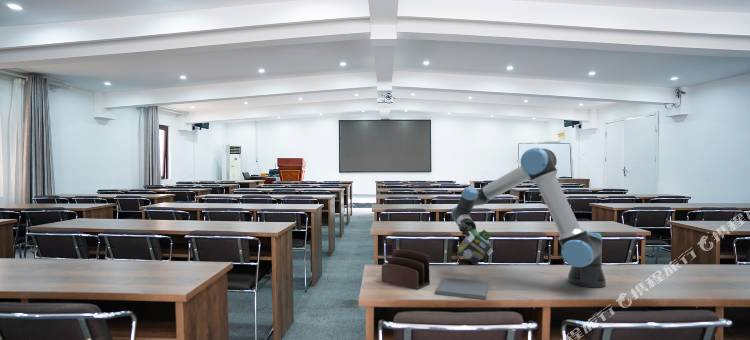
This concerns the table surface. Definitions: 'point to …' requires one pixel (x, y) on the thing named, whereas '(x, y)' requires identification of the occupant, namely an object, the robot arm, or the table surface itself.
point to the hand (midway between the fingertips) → (481, 246)
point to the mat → (462, 288)
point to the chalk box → (475, 246)
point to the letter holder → (407, 269)
